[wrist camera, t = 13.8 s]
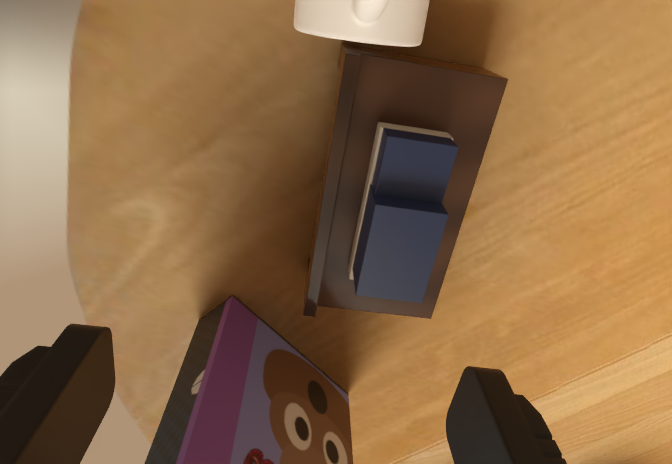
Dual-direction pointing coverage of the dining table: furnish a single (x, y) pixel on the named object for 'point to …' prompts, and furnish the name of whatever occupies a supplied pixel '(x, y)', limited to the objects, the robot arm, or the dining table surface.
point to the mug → (364, 20)
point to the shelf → (356, 148)
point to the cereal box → (250, 400)
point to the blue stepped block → (401, 212)
